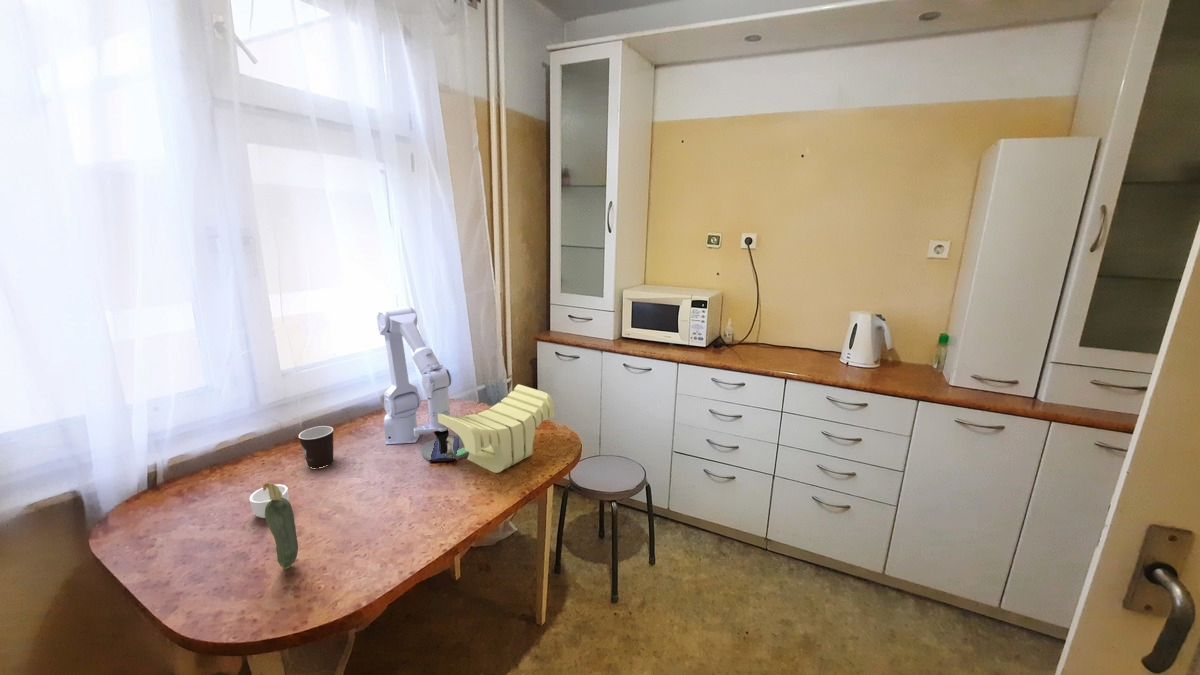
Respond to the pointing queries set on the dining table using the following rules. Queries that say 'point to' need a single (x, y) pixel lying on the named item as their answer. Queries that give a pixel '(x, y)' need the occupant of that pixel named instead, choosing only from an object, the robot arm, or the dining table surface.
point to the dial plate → (429, 446)
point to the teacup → (264, 499)
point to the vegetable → (281, 526)
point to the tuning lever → (449, 447)
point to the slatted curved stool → (502, 428)
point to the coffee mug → (317, 446)
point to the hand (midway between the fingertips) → (443, 452)
